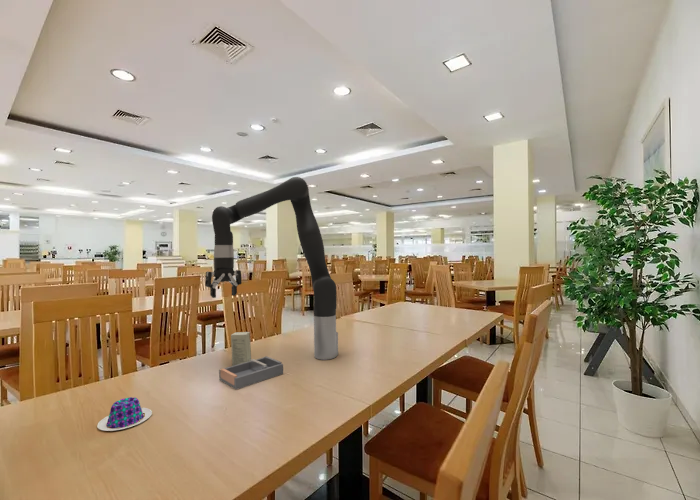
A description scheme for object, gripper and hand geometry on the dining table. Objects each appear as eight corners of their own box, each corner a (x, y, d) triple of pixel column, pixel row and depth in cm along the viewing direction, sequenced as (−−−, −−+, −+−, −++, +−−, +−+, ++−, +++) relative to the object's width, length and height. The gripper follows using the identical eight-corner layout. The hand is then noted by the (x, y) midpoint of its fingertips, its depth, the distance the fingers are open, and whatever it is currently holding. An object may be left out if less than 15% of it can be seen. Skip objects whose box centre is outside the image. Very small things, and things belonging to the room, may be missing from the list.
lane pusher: (253, 367, 122) (253, 358, 122) (266, 373, 115) (266, 364, 115) (250, 368, 121) (250, 359, 121) (263, 374, 114) (263, 365, 114)
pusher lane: (265, 366, 127) (264, 355, 127) (283, 373, 118) (283, 362, 118) (219, 379, 114) (219, 368, 114) (236, 389, 105) (235, 377, 105)
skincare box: (251, 362, 131) (251, 331, 131) (247, 366, 127) (246, 334, 127) (236, 362, 132) (235, 331, 132) (231, 366, 128) (230, 334, 128)
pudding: (142, 406, 96) (142, 388, 96) (159, 419, 88) (158, 399, 88) (91, 423, 87) (91, 403, 87) (104, 439, 79) (104, 417, 79)
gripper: (211, 256, 126) (211, 299, 126) (244, 256, 136) (244, 295, 136) (202, 256, 131) (202, 297, 131) (235, 256, 141) (235, 294, 141)
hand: (224, 296), depth 134 cm, fingers open, 8 cm apart
